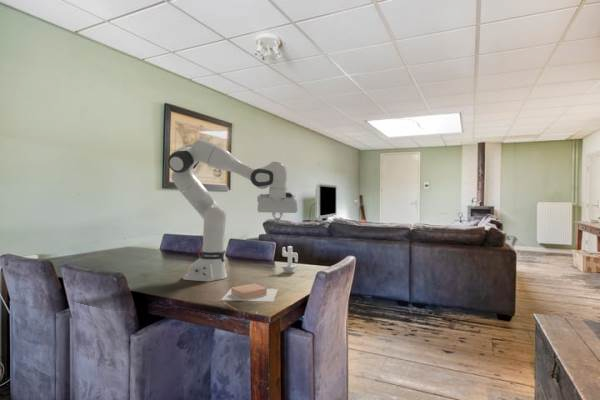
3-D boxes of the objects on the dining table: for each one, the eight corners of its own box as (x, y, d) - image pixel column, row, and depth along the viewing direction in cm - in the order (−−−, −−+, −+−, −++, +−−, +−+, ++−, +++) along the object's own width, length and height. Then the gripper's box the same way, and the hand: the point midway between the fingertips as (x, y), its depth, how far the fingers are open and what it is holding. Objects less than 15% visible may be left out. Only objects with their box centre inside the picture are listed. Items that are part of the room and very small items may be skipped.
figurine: (295, 274, 185) (295, 247, 185) (279, 272, 189) (280, 246, 188) (299, 271, 192) (299, 246, 192) (284, 270, 195) (285, 245, 195)
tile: (254, 283, 153) (231, 287, 145) (266, 288, 145) (242, 293, 137) (254, 289, 153) (231, 294, 145) (266, 295, 145) (242, 300, 137)
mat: (220, 301, 137) (220, 300, 137) (231, 289, 155) (231, 287, 155) (273, 302, 137) (273, 301, 137) (277, 290, 155) (278, 288, 155)
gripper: (256, 194, 164) (255, 221, 164) (297, 194, 163) (296, 222, 164) (258, 194, 170) (258, 220, 171) (297, 194, 170) (297, 221, 170)
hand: (277, 221), depth 167 cm, fingers closed
